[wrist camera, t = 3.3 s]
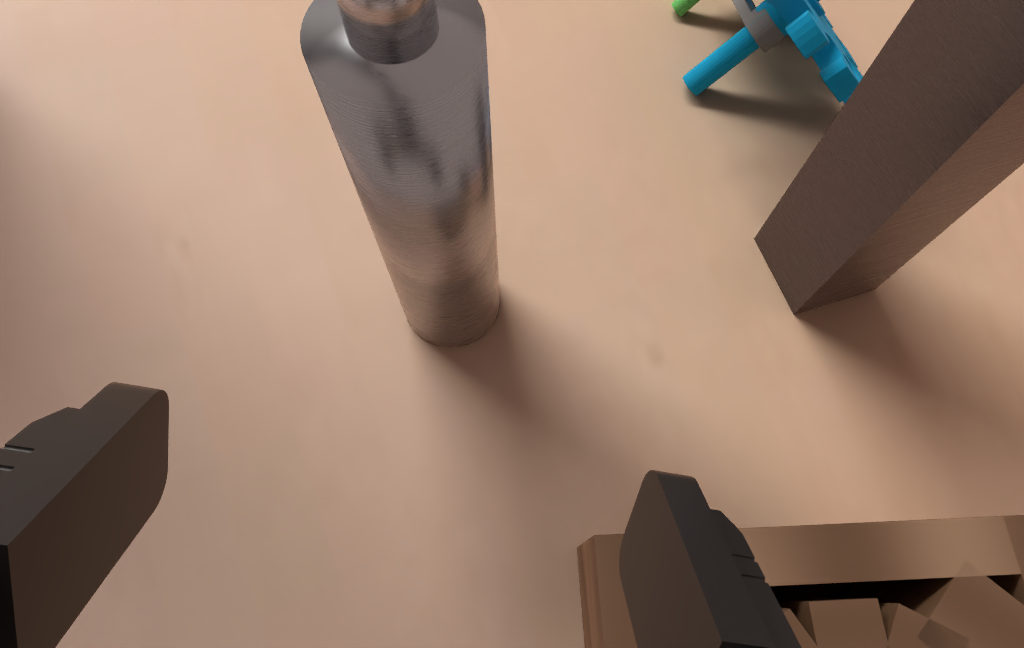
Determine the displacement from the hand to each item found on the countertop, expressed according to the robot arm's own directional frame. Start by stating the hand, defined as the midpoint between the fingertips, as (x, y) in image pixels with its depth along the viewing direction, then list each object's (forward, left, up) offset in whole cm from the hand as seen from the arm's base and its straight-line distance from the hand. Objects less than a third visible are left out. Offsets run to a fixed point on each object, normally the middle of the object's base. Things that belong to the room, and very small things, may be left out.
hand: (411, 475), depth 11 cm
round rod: (0, +8, -11) cm, 14 cm away
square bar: (+14, +9, -11) cm, 20 cm away
